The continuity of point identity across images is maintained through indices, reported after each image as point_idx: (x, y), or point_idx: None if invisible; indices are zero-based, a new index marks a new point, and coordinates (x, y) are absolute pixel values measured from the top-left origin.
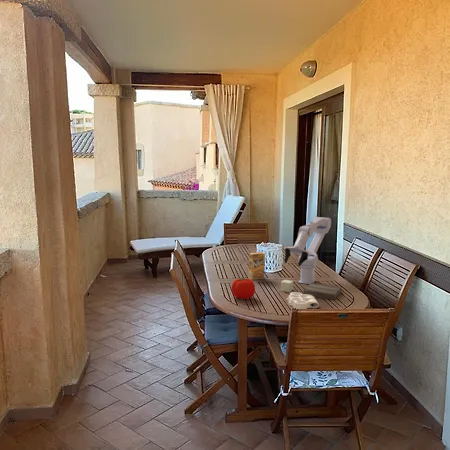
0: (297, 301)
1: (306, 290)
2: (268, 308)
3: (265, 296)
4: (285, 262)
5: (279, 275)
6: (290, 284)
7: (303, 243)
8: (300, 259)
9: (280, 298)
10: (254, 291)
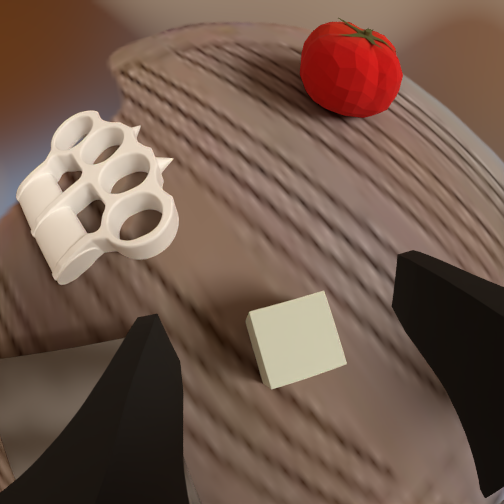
0: (91, 129)
1: (121, 339)
2: (190, 73)
3: (295, 160)
4: (400, 290)
5: None
6: (251, 323)
7: None
8: (120, 379)
9: (218, 182)
10: (306, 78)
